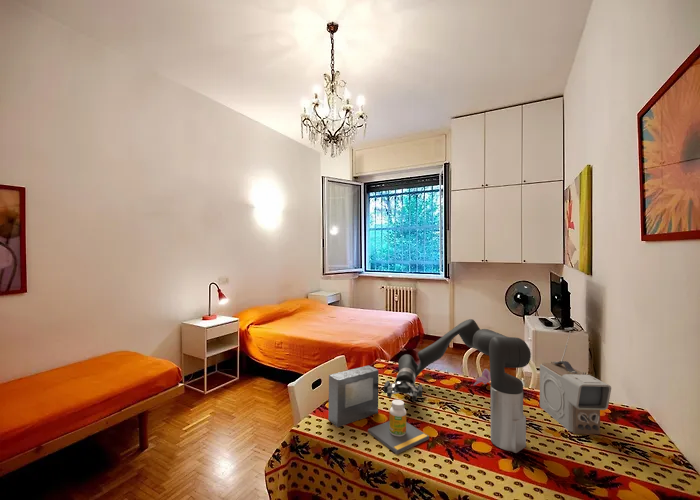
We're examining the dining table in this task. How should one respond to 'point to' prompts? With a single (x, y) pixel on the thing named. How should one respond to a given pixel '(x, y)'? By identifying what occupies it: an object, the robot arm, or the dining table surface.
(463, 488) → the dining table surface
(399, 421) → the supplement bottle
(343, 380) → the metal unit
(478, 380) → the lily
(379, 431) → the mat
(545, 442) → the dining table surface
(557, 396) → the portable television
